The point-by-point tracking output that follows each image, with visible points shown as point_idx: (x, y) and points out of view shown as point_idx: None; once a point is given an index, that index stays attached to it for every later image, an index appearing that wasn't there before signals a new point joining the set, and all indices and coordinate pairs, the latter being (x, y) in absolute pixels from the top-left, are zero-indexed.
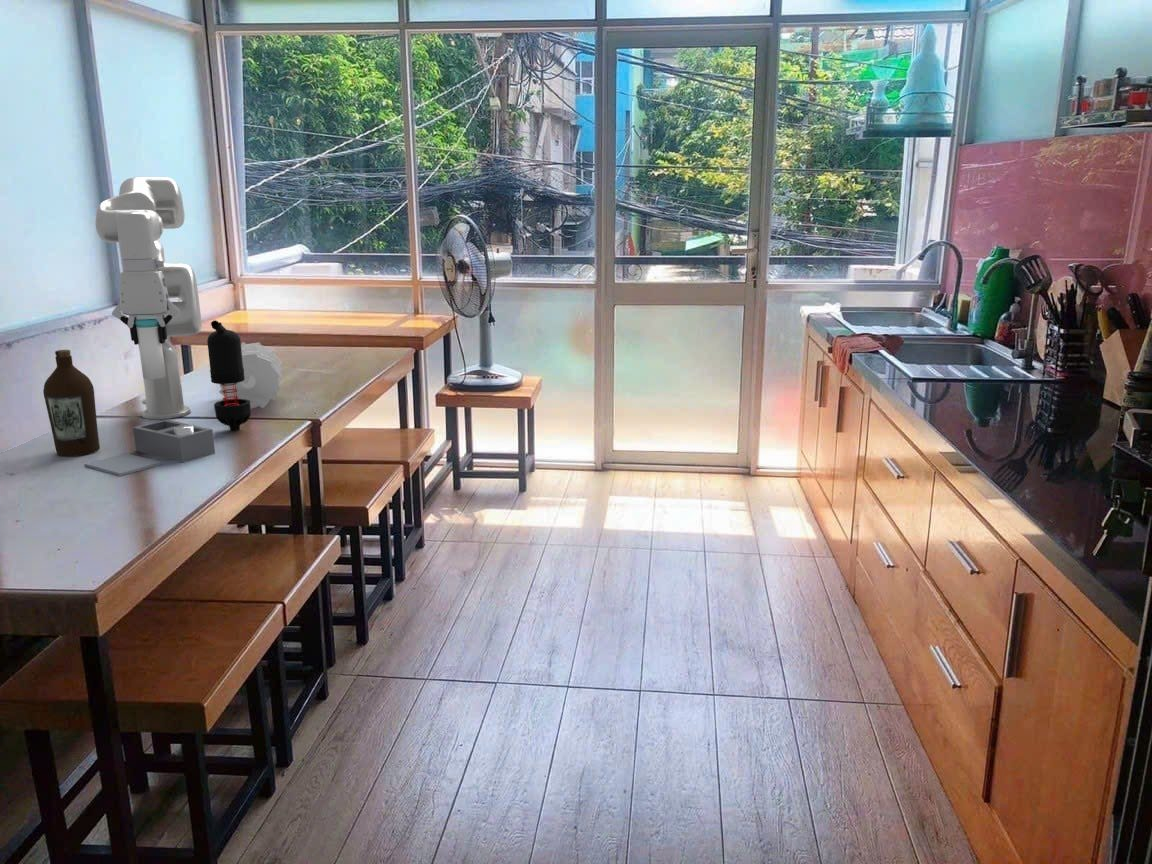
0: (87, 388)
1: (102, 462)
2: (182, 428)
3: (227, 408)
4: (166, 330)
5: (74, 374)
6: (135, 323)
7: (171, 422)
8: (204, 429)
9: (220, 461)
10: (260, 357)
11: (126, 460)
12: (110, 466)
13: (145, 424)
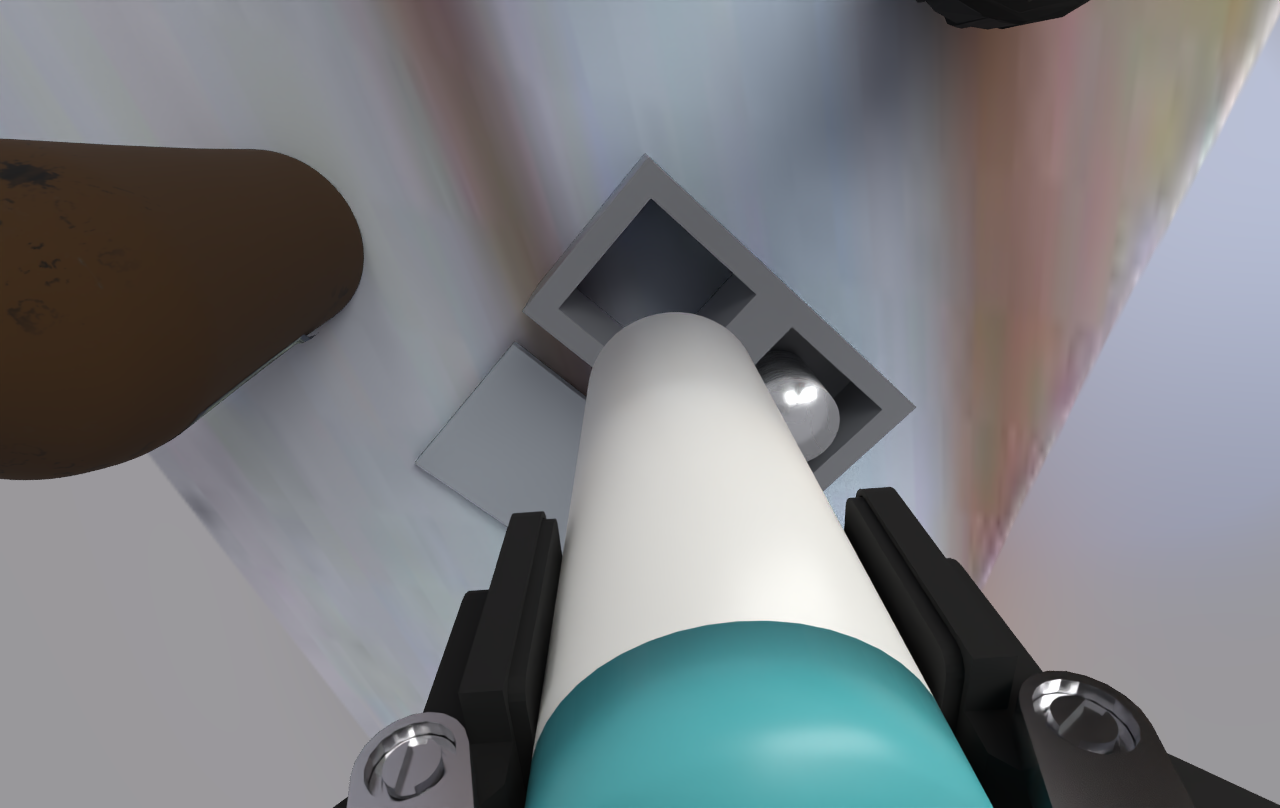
0: (194, 377)
1: (476, 459)
2: None
3: (1006, 21)
4: (1010, 633)
5: (28, 425)
6: (474, 777)
7: (695, 235)
8: (880, 405)
9: (900, 476)
10: None
11: (559, 448)
12: (527, 509)
13: (567, 256)
